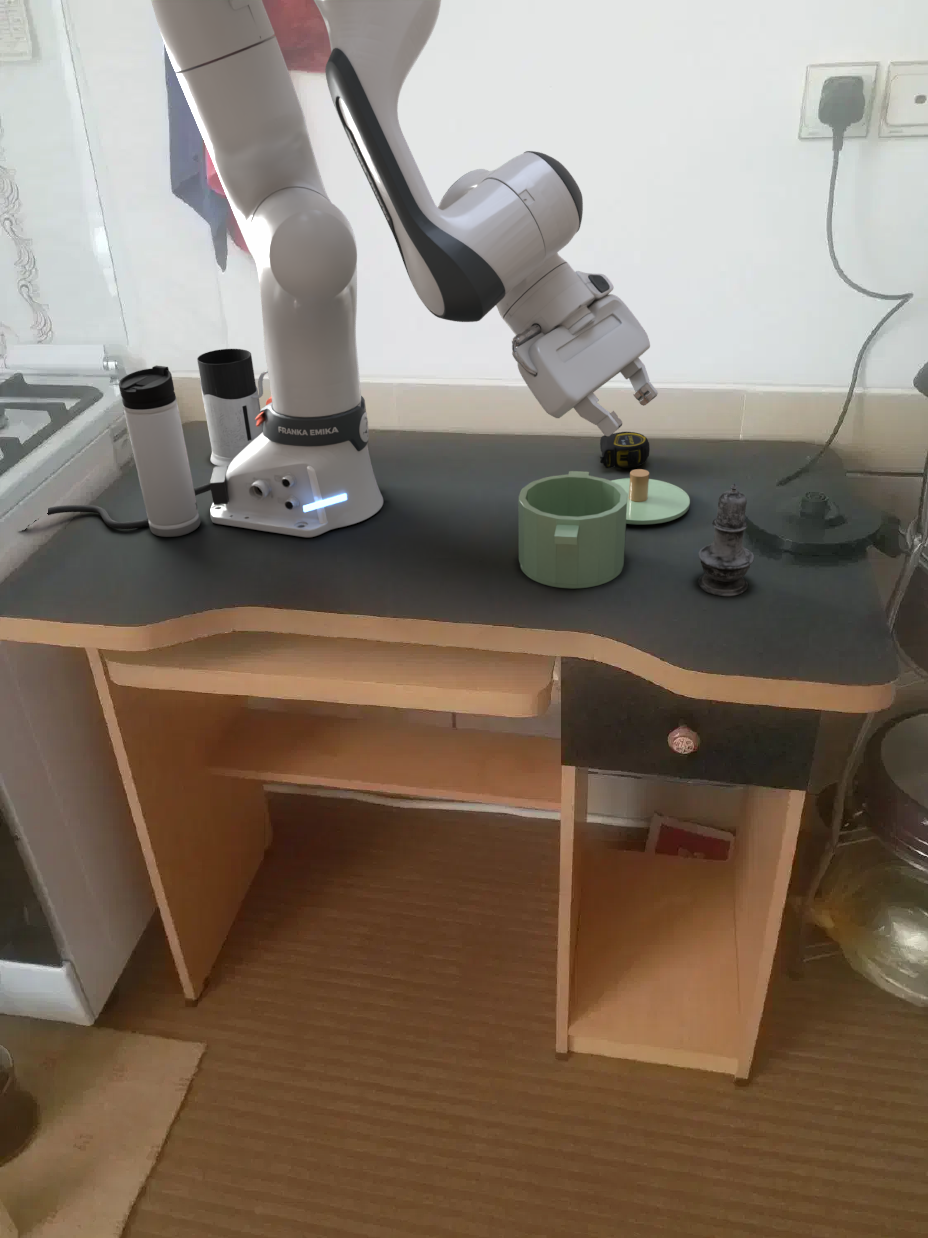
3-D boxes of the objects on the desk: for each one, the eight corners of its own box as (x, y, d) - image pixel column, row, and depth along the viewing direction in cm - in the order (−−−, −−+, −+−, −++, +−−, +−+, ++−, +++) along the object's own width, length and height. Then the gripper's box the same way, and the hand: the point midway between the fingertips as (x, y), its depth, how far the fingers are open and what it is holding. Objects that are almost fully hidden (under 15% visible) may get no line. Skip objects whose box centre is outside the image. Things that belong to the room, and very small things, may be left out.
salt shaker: (751, 599, 106) (765, 496, 100) (695, 595, 107) (705, 494, 101) (749, 573, 111) (762, 473, 105) (695, 569, 112) (705, 471, 106)
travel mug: (212, 519, 128) (184, 367, 118) (179, 541, 123) (147, 384, 113) (173, 512, 130) (142, 362, 120) (140, 533, 125) (104, 378, 115)
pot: (509, 597, 108) (508, 527, 104) (529, 527, 123) (529, 463, 118) (619, 604, 106) (623, 533, 102) (626, 532, 121) (630, 467, 116)
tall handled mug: (234, 442, 152) (218, 344, 144) (312, 454, 146) (300, 354, 138) (198, 462, 145) (179, 361, 137) (278, 476, 139) (263, 372, 132)
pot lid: (583, 526, 122) (584, 491, 120) (590, 484, 133) (591, 451, 131) (690, 531, 120) (693, 496, 118) (688, 488, 131) (691, 454, 129)
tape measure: (599, 454, 142) (600, 429, 140) (647, 454, 142) (649, 429, 140) (599, 473, 136) (600, 447, 135) (649, 473, 136) (651, 447, 134)
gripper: (523, 322, 95) (613, 434, 96) (612, 270, 110) (689, 368, 110) (485, 361, 100) (571, 467, 101) (575, 306, 114) (650, 400, 115)
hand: (633, 415), depth 106 cm, fingers open, 8 cm apart
